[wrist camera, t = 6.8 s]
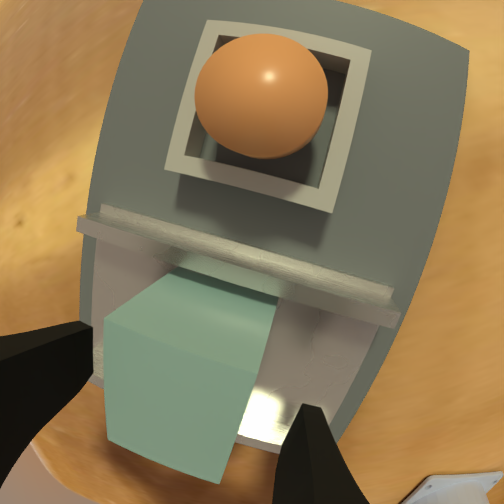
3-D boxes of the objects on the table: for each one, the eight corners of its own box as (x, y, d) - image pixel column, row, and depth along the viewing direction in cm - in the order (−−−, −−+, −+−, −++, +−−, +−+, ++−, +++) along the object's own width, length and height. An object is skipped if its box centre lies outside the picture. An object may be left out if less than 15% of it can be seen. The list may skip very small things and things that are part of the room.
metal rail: (317, 440, 13) (317, 466, 11) (94, 361, 14) (75, 378, 13) (392, 285, 11) (405, 303, 9) (105, 202, 12) (78, 207, 11)
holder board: (326, 445, 14) (326, 458, 13) (90, 364, 16) (81, 372, 15) (459, 58, 9) (469, 50, 8) (158, -5, 11) (149, -14, 10)
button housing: (328, 209, 11) (332, 213, 9) (180, 170, 11) (163, 169, 10) (364, 65, 9) (371, 50, 8) (218, 36, 10) (207, 19, 9)
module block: (247, 397, 13) (219, 484, 8) (162, 368, 13) (107, 439, 8) (279, 296, 12) (257, 374, 7) (177, 266, 12) (103, 318, 7)
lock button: (309, 172, 9) (309, 170, 8) (198, 145, 10) (180, 140, 8) (336, 66, 8) (340, 48, 7) (226, 45, 9) (213, 26, 7)
